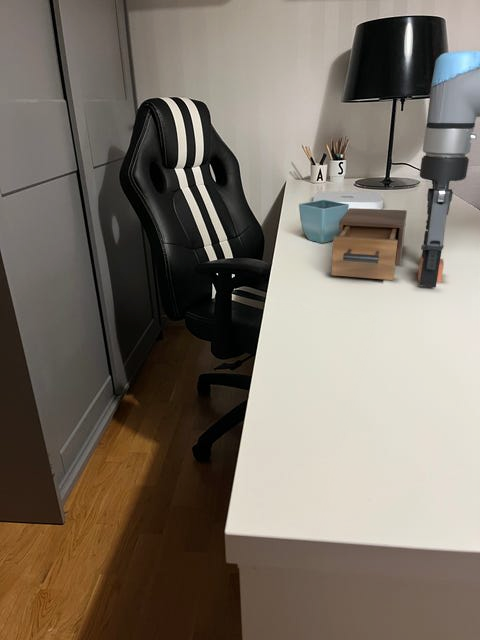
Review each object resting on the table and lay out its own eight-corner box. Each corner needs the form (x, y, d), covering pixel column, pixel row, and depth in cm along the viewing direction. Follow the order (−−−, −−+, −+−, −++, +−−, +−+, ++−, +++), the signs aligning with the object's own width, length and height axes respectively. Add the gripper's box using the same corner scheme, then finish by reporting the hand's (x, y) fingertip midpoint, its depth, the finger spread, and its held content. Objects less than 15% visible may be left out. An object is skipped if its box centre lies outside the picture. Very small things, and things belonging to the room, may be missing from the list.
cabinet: (399, 268, 101) (404, 224, 98) (336, 264, 105) (339, 221, 102) (402, 250, 114) (406, 210, 110) (346, 246, 118) (349, 208, 114)
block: (440, 279, 95) (443, 258, 93) (440, 285, 91) (443, 264, 90) (417, 277, 96) (420, 257, 94) (417, 284, 93) (420, 263, 91)
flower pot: (322, 246, 118) (323, 208, 115) (296, 239, 125) (297, 203, 121) (347, 240, 123) (350, 204, 119) (322, 234, 130) (323, 199, 126)
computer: (312, 210, 159) (312, 201, 158) (315, 198, 179) (315, 191, 178) (383, 211, 156) (384, 202, 155) (378, 199, 176) (379, 191, 175)
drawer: (391, 289, 87) (395, 248, 85) (326, 283, 91) (328, 244, 88) (397, 260, 104) (401, 225, 101) (342, 256, 107) (344, 222, 104)
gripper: (475, 163, 73) (451, 299, 81) (465, 149, 94) (447, 258, 103) (421, 161, 75) (403, 294, 84) (423, 148, 97) (409, 254, 105)
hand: (427, 274), depth 93 cm, fingers open, 13 cm apart
